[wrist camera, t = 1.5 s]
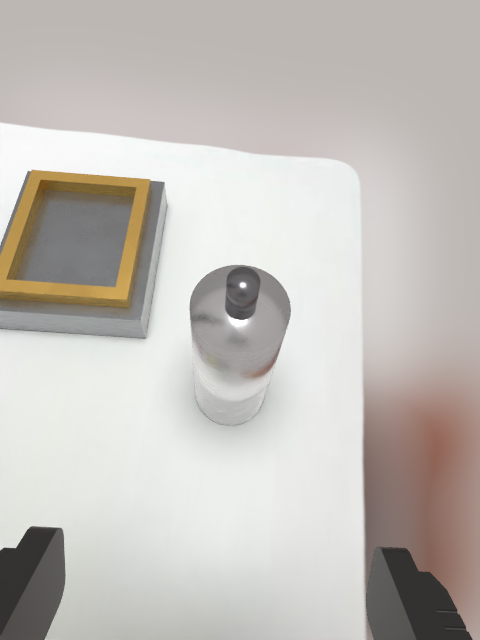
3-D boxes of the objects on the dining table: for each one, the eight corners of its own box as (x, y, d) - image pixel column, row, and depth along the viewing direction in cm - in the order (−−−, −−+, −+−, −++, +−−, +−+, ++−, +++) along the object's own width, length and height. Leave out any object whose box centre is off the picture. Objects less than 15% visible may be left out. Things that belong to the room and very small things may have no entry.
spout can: (192, 423, 34) (182, 326, 20) (199, 358, 36) (193, 233, 23) (263, 427, 34) (299, 334, 20) (264, 362, 36) (297, 240, 23)
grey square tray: (-7, 327, 36) (-31, 300, 33) (38, 195, 43) (22, 160, 39) (145, 338, 37) (138, 312, 33) (167, 205, 43) (163, 171, 40)
